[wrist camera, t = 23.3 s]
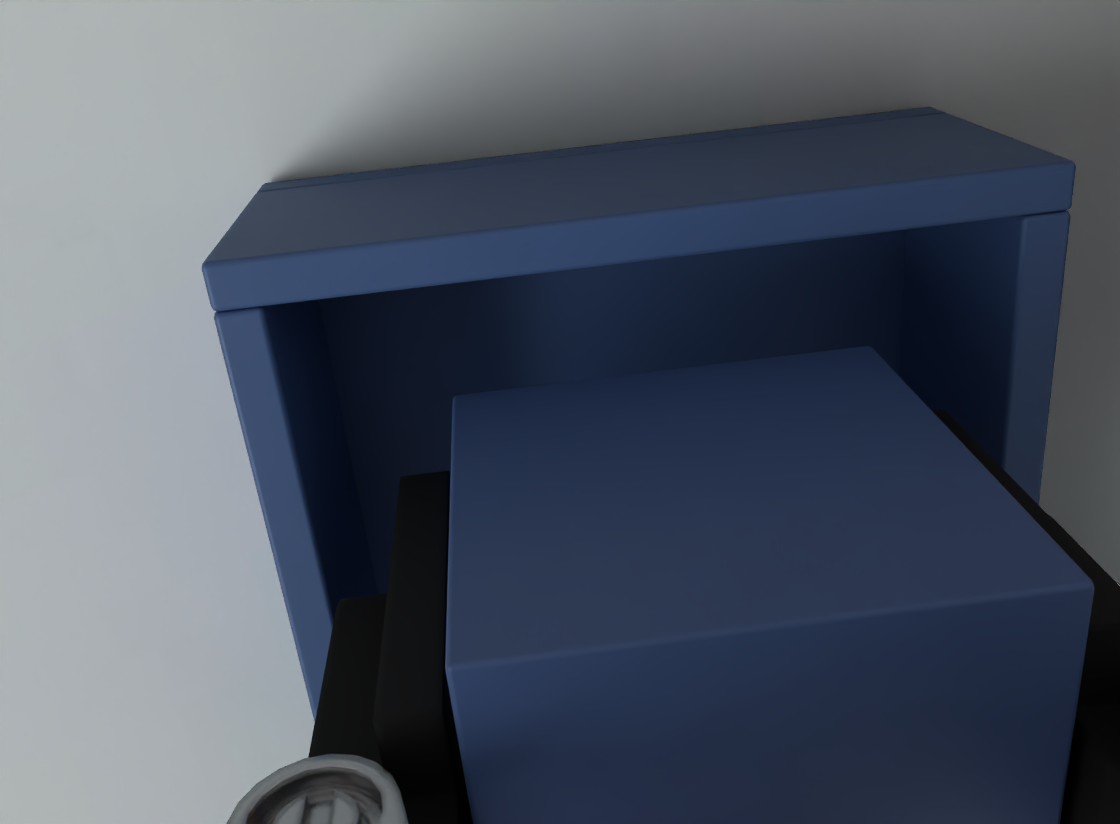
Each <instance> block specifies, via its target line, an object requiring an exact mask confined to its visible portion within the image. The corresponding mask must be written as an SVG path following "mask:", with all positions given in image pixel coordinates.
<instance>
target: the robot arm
mask: <svg viewBox="0 0 1120 824" xmlns="http://www.w3.org/2000/svg"><path fill="white" fill-rule="evenodd" d="M932 412H933V413H934V414H935V415H936V416H937V417H938V418H939V419H940V420H941V421H942V422H943V423H944V424H945V425H946V426H947V427H948V428H949V430H950V431H951V432H952V433H953V434H954V435H955V436H956V437H957V438H958V439H959V440H960V441H961V442H962V443H963V444H964V445H965V447H966V448H967V449H968V450H969V451H970V452H971V453H972V454H973V455H974V456H975V457H976V458H977V459H978V460H979V461H980V462H981V463H982V465H983V466H984V467H985V468H986V469H987V470H988V471H989V472H990V473H991V474H992V475H993V476H994V477H995V478H996V479H997V480H998V481H999V483H1000V484H1001V485H1002V486H1003V487H1004V488H1005V489H1006V490H1007V491H1008V492H1009V493H1010V494H1011V495H1012V496H1013V497H1014V498H1015V500H1016V501H1017V502H1018V503H1019V504H1020V505H1021V506H1022V507H1023V508H1024V509H1025V510H1026V511H1027V512H1028V513H1029V514H1030V515H1031V516H1032V518H1033V519H1034V520H1035V521H1036V522H1037V523H1038V524H1039V525H1040V526H1041V527H1042V528H1043V529H1044V530H1045V531H1046V532H1047V533H1048V534H1049V536H1050V537H1051V538H1052V539H1053V540H1054V541H1055V542H1056V543H1057V544H1058V545H1059V546H1060V547H1061V548H1062V549H1063V550H1064V551H1065V553H1066V554H1067V555H1068V556H1069V557H1070V558H1071V559H1072V560H1073V561H1074V562H1075V563H1076V564H1077V565H1078V566H1079V567H1080V568H1081V569H1082V571H1083V572H1084V573H1085V574H1086V575H1087V576H1088V577H1089V578H1090V579H1091V580H1092V582H1093V584H1094V588H1095V589H1094V596H1093V602H1092V609H1091V616H1090V623H1089V630H1088V636H1087V643H1086V650H1085V657H1084V663H1083V670H1082V677H1081V684H1080V691H1079V697H1078V704H1077V711H1076V718H1075V725H1074V731H1073V738H1072V745H1071V752H1070V758H1069V765H1068V772H1067V779H1066V786H1065V792H1064V799H1063V806H1062V813H1061V820H1060V824H1120V586H1119V585H1118V584H1117V583H1116V582H1115V581H1114V580H1113V579H1112V578H1111V577H1110V576H1109V575H1108V574H1107V573H1106V572H1105V571H1104V570H1103V569H1102V568H1101V567H1100V566H1099V565H1098V564H1097V563H1096V562H1095V561H1094V560H1093V559H1092V558H1091V557H1090V556H1089V555H1088V553H1087V552H1086V551H1085V550H1084V549H1083V548H1082V547H1081V546H1080V545H1079V544H1078V543H1077V542H1076V541H1075V540H1074V539H1073V538H1072V537H1071V536H1070V535H1069V534H1068V533H1067V532H1066V531H1065V530H1064V529H1063V528H1062V527H1061V526H1060V525H1059V524H1058V523H1057V522H1056V521H1055V520H1054V519H1053V518H1052V517H1050V516H1049V515H1048V514H1047V513H1046V512H1045V511H1044V510H1043V509H1042V508H1041V507H1040V506H1039V505H1038V504H1037V503H1036V502H1035V501H1034V500H1033V499H1032V498H1031V497H1030V496H1029V495H1028V494H1027V493H1026V492H1025V491H1024V490H1023V489H1022V488H1021V487H1020V486H1019V485H1018V484H1017V483H1016V482H1015V481H1014V480H1013V479H1012V478H1011V476H1010V475H1009V474H1008V473H1007V472H1006V471H1005V470H1004V469H1003V468H1002V467H1001V466H1000V465H999V464H998V463H997V462H996V461H995V460H994V459H993V458H992V457H991V456H990V455H989V454H988V453H987V452H986V451H985V450H984V449H983V448H982V447H981V446H980V445H979V444H978V443H977V442H976V441H975V440H974V439H973V438H972V436H971V435H970V434H969V433H968V432H967V431H966V430H965V429H964V428H963V427H962V426H961V425H960V424H959V423H958V422H957V421H956V420H955V419H954V418H953V417H952V416H951V415H950V414H949V413H948V412H946V411H945V410H934V411H932ZM450 478H451V473H450V471H441V472H433V473H425V474H417V475H409V476H401V477H400V483H399V491H398V500H397V509H396V518H395V527H394V536H393V545H392V553H391V562H390V571H389V580H388V589H387V593H386V594H378V595H370V596H362V597H354V598H346V599H341V600H340V601H339V602H338V604H337V608H336V611H335V617H334V622H333V627H332V633H331V638H330V644H329V649H328V655H327V660H326V665H325V671H324V676H323V682H322V687H321V693H320V698H319V703H318V709H317V714H316V720H315V725H314V731H313V736H312V741H311V747H310V752H309V758H305V759H302V760H300V761H297V762H295V763H292V764H290V765H287V766H285V767H283V768H280V769H278V770H277V771H275V772H274V773H272V774H271V775H269V776H268V777H266V778H265V779H263V780H262V781H260V782H259V783H257V784H256V785H255V786H254V787H253V788H252V789H251V790H250V791H249V792H248V793H247V794H246V795H245V796H244V797H243V798H242V799H241V800H240V801H239V802H238V804H237V806H236V807H235V809H234V811H233V813H232V815H231V817H230V818H229V820H228V822H227V824H473V822H472V816H471V810H470V805H469V799H468V794H467V788H466V782H465V777H464V771H463V766H462V760H461V754H460V749H459V743H458V738H457V732H456V726H455V721H454V715H453V710H452V704H451V698H450V693H449V687H448V682H447V676H446V671H445V656H446V621H447V585H448V549H449V514H450Z"/></svg>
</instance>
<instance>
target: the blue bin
mask: <svg viewBox="0 0 1120 824" xmlns="http://www.w3.org/2000/svg"><path fill="white" fill-rule="evenodd" d="M1075 168H1076V167H1075V163H1074V162H1073V161H1071V160H1068V159H1066V158H1063V157H1060V156H1058V155H1055V154H1052V153H1050V152H1047V151H1045V150H1042V149H1039V148H1037V147H1034V146H1031V145H1029V144H1026V143H1024V142H1021V141H1018V140H1016V139H1013V138H1010V137H1008V136H1005V135H1003V134H1000V133H997V132H995V131H992V130H989V129H987V128H984V127H982V126H979V125H976V124H974V123H971V122H968V121H966V120H963V119H961V118H958V117H955V116H953V115H950V114H947V113H945V112H942V111H940V110H937V109H934V108H931V107H925V108H917V109H908V110H899V111H890V112H882V113H873V114H864V115H856V116H847V117H838V118H829V119H821V120H812V121H803V122H795V123H786V124H777V125H768V126H760V127H751V128H742V129H734V130H725V131H716V132H707V133H699V134H690V135H681V136H673V137H664V138H655V139H646V140H638V141H629V142H620V143H612V144H603V145H594V146H585V147H577V148H568V149H559V150H551V151H542V152H533V153H524V154H516V155H507V156H498V157H490V158H481V159H472V160H463V161H455V162H446V163H437V164H429V165H420V166H411V167H402V168H394V169H385V170H376V171H368V172H359V173H350V174H341V175H333V176H324V177H315V178H307V179H298V180H289V181H280V182H272V183H265V184H264V185H262V187H261V188H260V189H259V191H258V192H257V194H255V196H254V197H253V198H252V200H251V201H250V202H249V204H248V205H247V206H246V208H245V209H244V210H243V211H242V213H241V214H240V215H239V217H238V218H237V219H236V221H235V222H234V223H233V225H232V226H231V227H230V229H229V230H228V231H227V232H226V234H225V235H224V236H223V238H222V239H221V240H220V242H219V243H218V244H217V246H216V247H215V248H214V249H213V251H212V252H211V253H210V255H209V256H208V257H207V259H206V260H205V261H204V263H203V264H202V272H203V276H204V280H205V284H206V288H207V292H208V296H209V300H210V304H211V307H212V308H213V310H215V311H216V313H215V316H214V320H215V324H216V328H217V332H218V336H219V340H220V344H221V348H222V352H223V356H224V360H225V364H226V368H227V372H228V376H229V380H230V384H231V388H232V392H233V396H234V400H235V404H236V408H237V412H238V416H239V420H240V424H241V428H242V432H243V436H244V440H245V444H246V448H247V452H248V456H249V460H250V464H251V468H252V472H253V476H254V480H255V484H256V488H257V492H258V496H259V500H260V504H261V508H262V512H263V516H264V520H265V524H266V528H267V532H268V536H269V540H270V544H271V548H272V552H273V556H274V560H275V564H276V568H277V572H278V576H279V580H280V584H281V588H282V593H283V597H284V601H285V605H286V609H287V613H288V617H289V621H290V625H291V629H292V633H293V637H294V641H295V645H296V649H297V653H298V657H299V661H300V665H301V669H302V673H303V677H304V681H305V685H306V689H307V693H308V697H309V701H310V705H311V709H312V713H313V717H314V721H315V720H316V714H317V709H318V703H319V698H320V693H321V687H322V682H323V676H324V671H325V665H326V660H327V655H328V649H329V644H330V638H331V633H332V627H333V622H334V617H335V611H336V608H337V604H338V602H339V601H340V600H341V599H346V598H354V597H362V596H370V595H378V594H386V593H387V589H388V580H389V571H390V562H391V553H392V545H393V536H394V527H395V518H396V509H397V500H398V491H399V483H400V477H401V476H409V475H417V474H425V473H433V472H441V471H450V473H451V443H452V407H453V398H454V397H455V396H457V395H464V394H473V393H481V392H489V391H498V390H506V389H514V388H522V387H531V386H539V385H547V384H556V383H564V382H572V381H581V380H589V379H597V378H605V377H614V376H622V375H630V374H639V373H647V372H655V371H664V370H672V369H680V368H688V367H697V366H705V365H713V364H722V363H730V362H738V361H747V360H755V359H763V358H771V357H780V356H788V355H796V354H805V353H813V352H821V351H830V350H838V349H846V348H854V347H863V346H870V347H872V348H873V349H874V350H875V351H876V352H877V353H878V354H879V355H880V356H881V357H882V359H883V360H884V361H885V362H886V363H887V364H888V365H889V366H890V367H891V368H892V369H893V370H894V371H895V372H896V373H897V374H898V375H899V377H900V378H901V379H902V380H903V381H904V382H905V383H906V384H907V385H908V386H909V387H910V388H911V389H912V390H913V391H914V392H915V394H916V395H917V396H918V397H919V398H920V399H921V400H922V401H923V402H924V403H925V404H926V405H927V406H928V407H929V408H930V409H931V410H932V411H934V410H945V411H946V412H948V413H949V414H950V415H951V416H952V417H953V418H954V419H955V420H956V421H957V422H958V423H959V424H960V425H961V426H962V427H963V428H964V429H965V430H966V431H967V432H968V433H969V434H970V435H971V436H972V438H973V439H974V440H975V441H976V442H977V443H978V444H979V445H980V446H981V447H982V448H983V449H984V450H985V451H986V452H987V453H988V454H989V455H990V456H991V457H992V458H993V459H994V460H995V461H996V462H997V463H998V464H999V465H1000V466H1001V467H1002V468H1003V469H1004V470H1005V471H1006V472H1007V473H1008V474H1009V475H1010V476H1011V478H1012V479H1013V480H1014V481H1015V482H1016V483H1017V484H1018V485H1019V486H1020V487H1021V488H1022V489H1023V490H1024V491H1025V492H1026V493H1027V494H1028V495H1029V496H1030V497H1031V498H1032V499H1033V500H1034V501H1035V502H1036V503H1037V504H1038V505H1039V496H1040V487H1041V478H1042V469H1043V460H1044V450H1045V441H1046V432H1047V423H1048V414H1049V405H1050V396H1051V387H1052V378H1053V369H1054V360H1055V351H1056V342H1057V333H1058V324H1059V315H1060V306H1061V297H1062V288H1063V279H1064V270H1065V261H1066V251H1067V242H1068V233H1069V224H1070V213H1069V212H1068V211H1066V210H1067V209H1070V207H1071V204H1072V195H1073V186H1074V177H1075Z"/></svg>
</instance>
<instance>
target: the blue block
mask: <svg viewBox="0 0 1120 824" xmlns="http://www.w3.org/2000/svg"><path fill="white" fill-rule="evenodd" d="M1094 589H1095V588H1094V584H1093V582H1092V580H1091V579H1090V578H1089V577H1088V576H1087V575H1086V574H1085V573H1084V572H1083V571H1082V569H1081V568H1080V567H1079V566H1078V565H1077V564H1076V563H1075V562H1074V561H1073V560H1072V559H1071V558H1070V557H1069V556H1068V555H1067V554H1066V553H1065V551H1064V550H1063V549H1062V548H1061V547H1060V546H1059V545H1058V544H1057V543H1056V542H1055V541H1054V540H1053V539H1052V538H1051V537H1050V536H1049V534H1048V533H1047V532H1046V531H1045V530H1044V529H1043V528H1042V527H1041V526H1040V525H1039V524H1038V523H1037V522H1036V521H1035V520H1034V519H1033V518H1032V516H1031V515H1030V514H1029V513H1028V512H1027V511H1026V510H1025V509H1024V508H1023V507H1022V506H1021V505H1020V504H1019V503H1018V502H1017V501H1016V500H1015V498H1014V497H1013V496H1012V495H1011V494H1010V493H1009V492H1008V491H1007V490H1006V489H1005V488H1004V487H1003V486H1002V485H1001V484H1000V483H999V481H998V480H997V479H996V478H995V477H994V476H993V475H992V474H991V473H990V472H989V471H988V470H987V469H986V468H985V467H984V466H983V465H982V463H981V462H980V461H979V460H978V459H977V458H976V457H975V456H974V455H973V454H972V453H971V452H970V451H969V450H968V449H967V448H966V447H965V445H964V444H963V443H962V442H961V441H960V440H959V439H958V438H957V437H956V436H955V435H954V434H953V433H952V432H951V431H950V430H949V428H948V427H947V426H946V425H945V424H944V423H943V422H942V421H941V420H940V419H939V418H938V417H937V416H936V415H935V414H934V413H933V412H932V410H931V409H930V408H929V407H928V406H927V405H926V404H925V403H924V402H923V401H922V400H921V399H920V398H919V397H918V396H917V395H916V394H915V392H914V391H913V390H912V389H911V388H910V387H909V386H908V385H907V384H906V383H905V382H904V381H903V380H902V379H901V378H900V377H899V375H898V374H897V373H896V372H895V371H894V370H893V369H892V368H891V367H890V366H889V365H888V364H887V363H886V362H885V361H884V360H883V359H882V357H881V356H880V355H879V354H878V353H877V352H876V351H875V350H874V349H873V348H872V347H870V346H863V347H854V348H846V349H838V350H830V351H821V352H813V353H805V354H796V355H788V356H780V357H771V358H763V359H755V360H747V361H738V362H730V363H722V364H713V365H705V366H697V367H688V368H680V369H672V370H664V371H655V372H647V373H639V374H630V375H622V376H614V377H605V378H597V379H589V380H581V381H572V382H564V383H556V384H547V385H539V386H531V387H522V388H514V389H506V390H498V391H489V392H481V393H473V394H464V395H457V396H455V397H454V398H453V407H452V443H451V478H450V514H449V549H448V585H447V621H446V656H445V671H446V676H447V682H448V687H449V693H450V698H451V704H452V710H453V715H454V721H455V726H456V732H457V738H458V743H459V749H460V754H461V760H462V766H463V771H464V777H465V782H466V788H467V794H468V799H469V805H470V810H471V816H472V822H473V824H1060V820H1061V813H1062V806H1063V799H1064V792H1065V786H1066V779H1067V772H1068V765H1069V758H1070V752H1071V745H1072V738H1073V731H1074V725H1075V718H1076V711H1077V704H1078V697H1079V691H1080V684H1081V677H1082V670H1083V663H1084V657H1085V650H1086V643H1087V636H1088V630H1089V623H1090V616H1091V609H1092V602H1093V596H1094Z"/></svg>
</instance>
